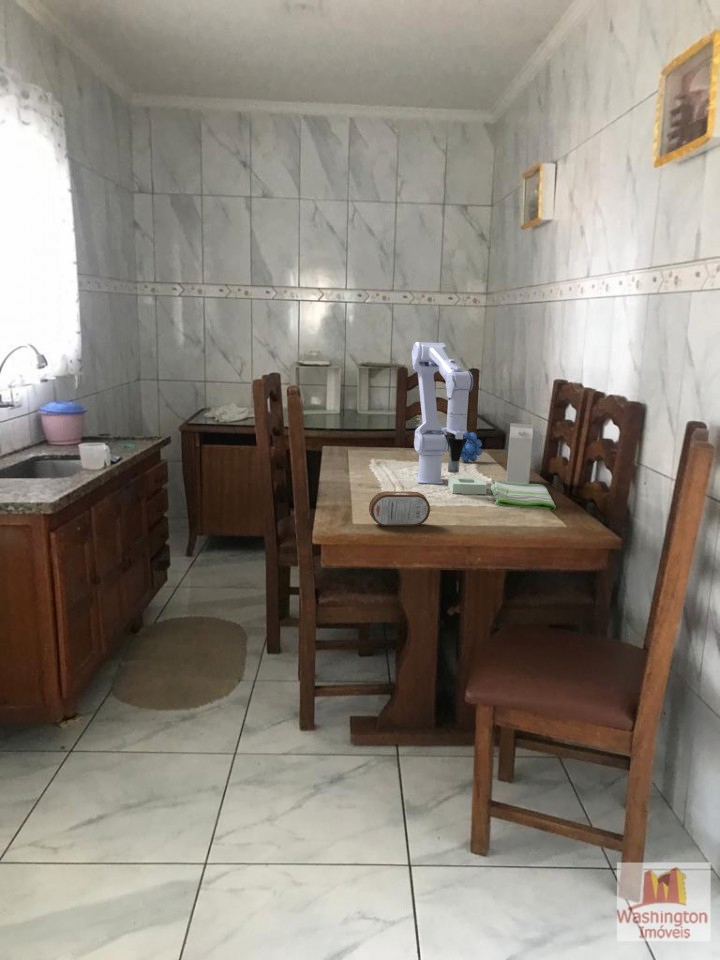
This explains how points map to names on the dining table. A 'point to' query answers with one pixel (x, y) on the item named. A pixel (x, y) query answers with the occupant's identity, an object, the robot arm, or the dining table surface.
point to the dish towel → (521, 495)
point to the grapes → (471, 447)
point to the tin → (399, 508)
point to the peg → (453, 464)
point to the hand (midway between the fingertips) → (454, 460)
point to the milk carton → (519, 453)
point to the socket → (467, 485)
